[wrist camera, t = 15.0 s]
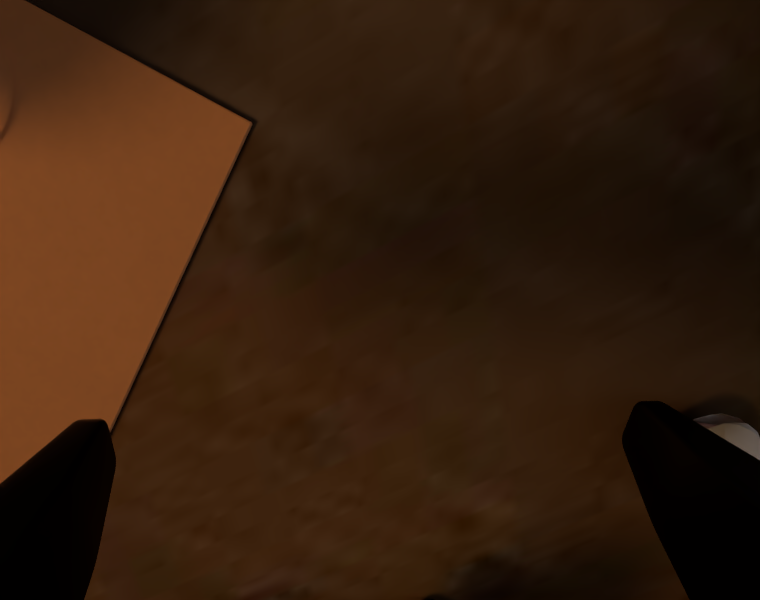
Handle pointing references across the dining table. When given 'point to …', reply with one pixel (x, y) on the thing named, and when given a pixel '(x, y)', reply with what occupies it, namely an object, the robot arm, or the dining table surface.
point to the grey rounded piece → (733, 431)
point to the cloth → (92, 221)
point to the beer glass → (5, 86)
